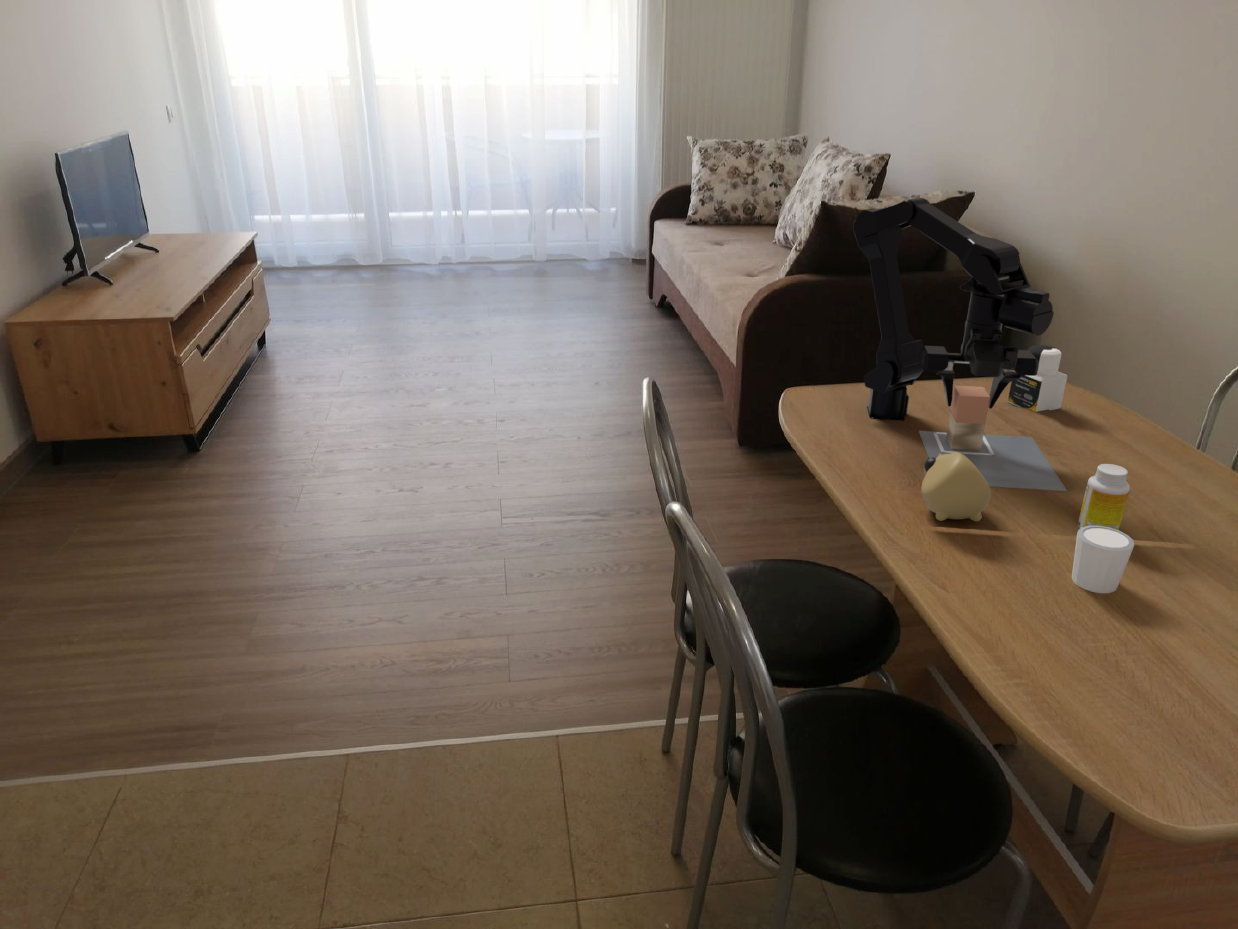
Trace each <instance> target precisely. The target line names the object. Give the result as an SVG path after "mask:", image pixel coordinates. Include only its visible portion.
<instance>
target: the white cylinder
mask: <svg viewBox="0 0 1238 929" xmlns="http://www.w3.org/2000/svg"><path fill="white" fill-rule="evenodd" d="M1134 542H1135V541H1134V539H1133V538H1131V536H1129V534H1126V533H1124V532H1122V531H1121V530H1120V529H1119V530H1116V529H1113V528H1109V527H1104V526H1085V527H1082V528H1080V527H1079V529H1078V530H1077V533H1076V541H1075V549H1074V556H1073V564H1072V571H1071V580H1072V581H1073V583H1074V584H1075V585H1077V586H1078V587H1080V588H1081V589H1083V590H1085V591H1088V592H1092V593H1096V594H1109V593H1113V592H1115V591H1116V590H1117V589H1118V587H1119V584H1120V582H1121V579H1122V577H1123V575H1124V572H1125V569H1126V567H1127V565H1128V562H1129V560H1130V557H1131V554H1132V552H1133V549H1134V547H1135V543H1134Z"/></svg>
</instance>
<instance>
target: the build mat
mask: <svg viewBox="0 0 1238 929" xmlns="http://www.w3.org/2000/svg"><path fill="white" fill-rule="evenodd" d="M918 434H919V437H920V439H921V441H922V443H923V444H922V445H923V447H924V448H925V451H926V454H927V457H928V459H929V458H932V457H935V458H937V457H938V455H939V454H942V455H944V454H951V453H955V452H959V453H961V454H963V455H964V456H966V457H967V458H969V459H970V460H971V461H972V463H973V464H974V465H975V466H976V468H977V469H978V470H979V471H980V473H981V474H982V475H983V477H984V478H985V480H986V481H987V483H988V485H989V487H990V488H991V487H992V488H996V487H997V488H1009V489H1023V490H1024V489H1025V490H1039V491H1040V490H1041V491H1055V492H1056V491H1058V492H1068V490H1067V489H1066V487H1065V485H1064V484H1063V483H1062V481H1061V479H1060V478H1059V476H1058V475H1057V473H1056V471H1054V468H1053V467H1052V465H1051V464H1050V463H1049V461H1048V459H1047V458H1046V457H1045V455H1044V454H1043V451H1041V449H1040V448H1039V446H1038V444H1037V443H1036V441H1035V440H1034V439H1033V437H1032V436H1021V435H1019V436H1018V435H1017V436H1016V435H1003V434H1002V435H1000V434H986V433H984V434H983V440H982V445H981V450H965V449H951V447H950V445H949V443H948V441H947V438H946V435H947V431H946V432H945V431H929V430H918Z"/></svg>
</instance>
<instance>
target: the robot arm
mask: <svg viewBox="0 0 1238 929" xmlns="http://www.w3.org/2000/svg"><path fill="white" fill-rule="evenodd" d="M908 227H913V228H914V229H915V230H917V231H919V233H920V232H921V234H923V235H925V236H926V237H928V239H930V240H932V241H934V242H935V243H936V244H938V245H939V246H941V247H942V248H944V249H945V250H947V251H948V252H950V253H951V254H953V255H954V256H955V257H957V259H958V260H959V262H960V264H961V267H962V269H963V270H964V271H965V272H966V274H967V273H968V275H969V276H970V277H971V278H969V280H968V281H966V282H964V283H963V284H961V285H960V286H959V288H960V290H962V291H964V292H969V293H970V299H969V304H968V311H967V316H966V320H965V321H964V322H965V323H964V332H963V333H964V335H963V340H962V343H961V347H960V353H958V352H948V351H947V349H946V347H945V346H942V345H941V346H938V345H924V342H923V340H922V339H919V340H918V339H917V340H915V338H914V336H913V335H912V334H911V333H910V330H909V324H908V318H907V311H906V306H905V304H906V303H905V299H904V293H903V287H902V280H901V274H900V268H899V262H898V252H899V248H900V246H901V243H902V240H903V229H906V228H908ZM853 233H854V237H855V240H856V242H857V243H856V244H857V246H858V248H859V250H860V251H861V252H862V253H863V255H864V256H865V257H866V259H867V260H868V263H869V268H870V272H871V273H870V275H871V279H872V280H871V281H872V285H873V292H874V299H875V304H876V311H877V316H878V317H877V318H878V322H879V329H880V335H881V339H880V342H879V345H878V348H877V351H876V366H875V367H874V368H872V369H871V370H870V371H868V372H867V373H866V374H864V375H863V381H864V386H865V388H868V389H870V392H869V399H868V400H869V401H868V405H867V406H866V410H867V413H868V418H869V419H871V420H884V421H886V420H887V421H888V420H889V421H901V422H902V421H905V417H906V416H907V415H908V414H907V412H908V405H909V400H910V395H909V393H908V388H907V387H909V386H913V385H914V384H915V382H916V380H917V379H918V378H919V377H920V376H921V374H922V373H923V372H924V371H929V372H930V371H931V372H935V374H936V375H937V376H940V377H941V380H942V385H943V389H944V395H945V399H946V404H947V406H948V407H950V408H951V403H952V397H953V391H954V379H955V376H956V373H955V372H954V369H953V367H954V365H959V366H962V365H963V366H969V367H970V373H971V375H972V376H975V377H982V376H984V377H985V376H988V377H990V376H991V377H993V378H992V382H991V383H992V384H991V388H990V391H989V396H990V401H989V407H988V410H991V409H993V407H994V405H996V402H997V401H998V399H999V398H1000V396H1001V395H1002V393H1003V392H1004V391H1005V389H1006V387H1007V386H1008V385H1009V384H1011V381H1013V380H1014V379H1020V378H1021V375H1028V376H1035V375H1037V372H1038V367H1039V361H1038V360H1037V359H1036V358H1035V357H1034V355H1033V354H1032V353H1031V352H1030V351H1029V350H1028V349H1025V350H1024V349H1018V346H1007V345H1005V346H1004V345H1003V341H1002V338H1003V331H1002V329H1003V327H1005V328H1008V329H1012V330H1015V331H1018V332H1022V333H1026V334H1029V335H1033V336H1037V337H1039V336H1041V335H1043V334H1044V333H1045V332H1046V331H1047V330H1048V328H1049V327H1050V325H1051V324H1052V322H1053V318H1054V313H1055V312H1054V311H1053V310H1054V309H1053V308H1054V307H1053V304H1052V302H1051V301H1050V293H1049V292H1047V291H1040V290H1039V291H1037V290H1033V289H1030V288H1031V285H1030V282H1029V280H1028V278H1027V275H1026V273H1025V271H1024V268H1023V266H1022V264H1021V258H1020V252H1019V250H1018V249H1017V248H1016V246H1014V245H1013V244H1010V243H1007V242H1006V241H1005V242H1004V241H1003V240H1000V239H997V238H995V237H989V236H985V235H981V234H978V233H976V232H975V231H973V230H971V229H970V228H969V227H967V226H965V225H963V224H962V223H960V222H959V221H957V219H954V218H953V217H951V216H950V215H948V214H946V213H945V212H943V211H942V210H940V209H939V208H938V207H935V206H934V205H933V204H932V203H930V202H929V200H928V199H926V198H924V197H916V198H915V197H914V198H910V199H909V198H908V199H904V200H902V201H901V202H899V203H896V204H894V205H891V206H887V207H881V208H875V209H869V210H867V209H866V210H863V211H860V212H859V214H858V215H856V218H855V220H854V221H853ZM1007 279H1009V280H1008V281H1004V282H1001V281H1002V280H1007Z"/></svg>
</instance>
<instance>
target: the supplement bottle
mask: <svg viewBox="0 0 1238 929" xmlns="http://www.w3.org/2000/svg"><path fill="white" fill-rule="evenodd" d="M1128 474H1129V472H1128V470H1127V469H1126V468H1125V467H1123V466H1121V465H1116V464H1113V463H1101V464H1099V465H1098V466H1097V469H1096V472H1095V474H1094V475H1092V476H1090V477H1089V479H1087V480H1088V481H1087V484H1086V487H1085V491H1084V492H1085V493H1084V496H1083V500H1082V505H1081V508H1080V513H1079V518H1078V523H1077V527H1079V529H1080V528H1082V527H1085V526H1104V527H1109V528H1113V529H1116V530H1119V531H1120V529H1121V525H1122V521H1123V517H1124V514H1125V510H1126V506H1127V502H1128V498H1129V494H1130V491H1131V490H1130V489H1131V485H1130V484H1129V483H1128V482H1127V479H1128V478H1127V477H1128Z"/></svg>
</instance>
